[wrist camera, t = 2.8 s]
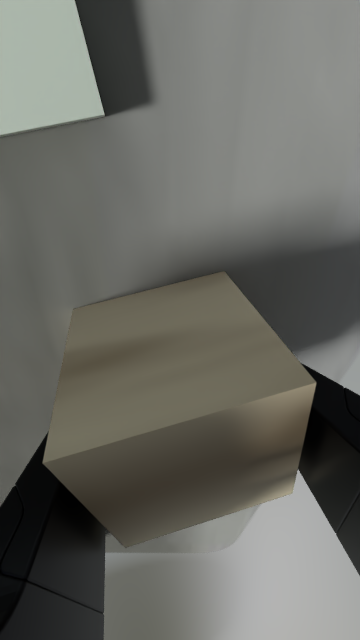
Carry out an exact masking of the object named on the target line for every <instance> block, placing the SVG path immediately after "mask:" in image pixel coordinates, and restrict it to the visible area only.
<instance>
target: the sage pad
mask: <svg viewBox="0 0 360 640" xmlns="http://www.w3.org/2000/svg"><path fill="white" fill-rule="evenodd" d="M101 117H105V114H104V111H103V107H102V103H101V99H100V95H99V91H98V88H97V84H96V80H95V76H94V72H93V69H92V65H91V61H90V57H89V53H88V49H87V46H86V42H85V38H84V34H83V30H82V27H81V23H80V19H79V15H78V11H77V7H76V4H75V0H0V137H5V136H10V135H15V134H20V133H25V132H30V131H35V130H40V129H45V128H50V127H55V126H60V125H66V124H71V123H76V122H81V121H86V120H91V119H96V118H101Z"/></svg>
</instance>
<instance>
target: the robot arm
mask: <svg viewBox="0 0 360 640" xmlns="http://www.w3.org/2000/svg"><path fill="white" fill-rule="evenodd" d="M301 364H302V363H301ZM302 366H303V367H304V368H305V369H306V370H307V372H308V373H309V374H310V375H311V376H312V378H313V379H314V380H315V381H316V387H315V392H314V396H313V401H312V405H311V410H310V415H309V419H308V424H307V428H306V433H305V438H304V442H303V447H302V451H301V456H300V461H299V465H298V469H299V471H300V473H301V474H302V476H303V478H304V480H305V482H306V483H307V485H308V487H309V488H310V490H311V492H312V493H313V495H314V497H315V499H316V501H317V502H318V504H319V506H320V507H321V509H322V511H323V513H324V514H325V516H326V518H327V519H328V521H329V523H330V525H331V526H332V528H333V530H334V531H335V533H337V534H336V535H337V537H338V539H339V540H340V542H341V544H342V545H343V547H344V549H345V551H346V553H347V554H348V556H349V558H350V560H351V561H352V563H353V565H354V566H355V568H356V570H357V572H358V573H359V575H360V395H358V394H356V393H354V392H353V391H351V390H349V389H347V388H344V387H343V386H342V385H340V384H338V383H336V382H334V381H333V380H331V379H329V378H327V377H325V376H324V375H322V374H320V373H318V372H316V371H315V370H313V369H311V368H309V367H307V366H306V365H304V364H302ZM48 433H49V431H48ZM48 433H47V435H46V436H45V438H44V439H43V441H42V442H41V444H40V446H39V447H38V449H37V450H36V452H35V453H34V455H33V457H32V458H31V460H30V461H29V463H28V464H27V466H26V468H25V469H24V471H23V472H22V474H21V475H20V477H19V479H18V480H17V482H16V483H15V485H16V486H14V487H13V488H12V489H11V491H10V493H9V494H8V496H7V497H6V499H5V500H4V502H3V503H2V505H1V506H0V640H103V639H104V638H103V637H104V636H103V635H104V615H103V613H104V578H105V529H106V528H105V527H104V526H103V525H102V524H101V523H100V522H99V521H98V519H97V518H96V517H95V516H94V515H93V514H92V513H91V512H90V511H89V510H88V509H87V508H86V507H85V506H84V505H83V504H82V503H81V502H80V501H79V500H78V499H77V498H76V497H75V496H74V495H73V494H72V493H71V492H70V491H69V490H68V489H67V488H66V487H65V486H64V485H63V484H62V483H61V482H60V481H59V479H58V478H57V477H56V476H55V475H54V474H53V473H52V472H51V471H50V470H49V469H48V468H47V467H46V466H45V465H44V464H43V458H44V453H45V448H46V443H47V438H48Z"/></svg>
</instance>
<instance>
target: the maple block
mask: <svg viewBox="0 0 360 640" xmlns="http://www.w3.org/2000/svg"><path fill="white" fill-rule="evenodd" d="M315 387H316V381H315V380H314V379H313V378H312V376H311V375H310V374H309V373H308V372H307V370H306V369H305V368H304V367H303V366H302V364H301V363H300V362H299V361H298V360H297V358H296V357H295V356H294V355H293V354H292V352H291V351H290V350H289V349H288V347H287V346H286V345H285V344H284V343H283V341H282V340H281V339H280V338H279V337H278V335H277V334H276V333H275V332H274V331H273V329H272V328H271V327H270V326H269V325H268V323H267V322H266V321H265V320H264V318H263V317H262V316H261V315H260V314H259V312H258V311H257V310H256V309H255V308H254V306H253V305H252V304H251V303H250V302H249V300H248V299H247V298H246V297H245V296H244V294H243V293H242V292H241V291H240V289H239V288H238V287H237V286H236V285H235V283H234V282H233V281H232V280H231V279H230V277H229V276H228V275H227V274H226V273H225V271H222V272H218V273H214V274H210V275H206V276H202V277H198V278H195V279H191V280H187V281H183V282H179V283H175V284H171V285H167V286H163V287H159V288H155V289H151V290H147V291H143V292H139V293H135V294H131V295H127V296H123V297H119V298H115V299H111V300H107V301H103V302H99V303H95V304H91V305H87V306H83V307H79V308H75V309H73V311H72V316H71V322H70V327H69V332H68V337H67V342H66V347H65V352H64V357H63V362H62V367H61V372H60V377H59V382H58V387H57V392H56V397H55V403H54V408H53V413H52V418H51V423H50V428H49V433H48V438H47V443H46V448H45V453H44V458H43V464H44V465H45V466H46V467H47V468H48V469H49V470H50V471H51V472H52V473H53V474H54V475H55V476H56V477H57V478H58V479H59V481H60V482H61V483H62V484H63V485H64V486H65V487H66V488H67V489H68V490H69V491H70V492H71V493H72V494H73V495H74V496H75V497H76V498H77V499H78V500H79V501H80V502H81V503H82V504H83V505H84V506H85V507H86V508H87V509H88V510H89V511H90V512H91V513H92V514H93V515H94V516H95V517H96V518H97V519H98V521H99V522H100V523H101V524H102V525H103V526H104V527H105V528H106V529H107V530H108V531H109V532H110V533H111V534H112V535H113V536H114V537H115V538H116V539H117V540H118V541H119V542H120V543H121V544H122V545H123V546H124V547H125V548H127V547H130V546H133V545H136V544H139V543H142V542H145V541H148V540H151V539H155V538H158V537H161V536H164V535H167V534H170V533H173V532H176V531H179V530H182V529H185V528H188V527H191V526H194V525H197V524H200V523H203V522H207V521H210V520H213V519H216V518H219V517H222V516H225V515H228V514H231V513H234V512H237V511H240V510H243V509H246V508H249V507H252V506H256V505H259V504H262V503H265V502H267V501H271V500H274V499H277V498H280V497H283V496H286V495H289V494H292V493H293V488H294V483H295V479H296V474H297V470H298V465H299V461H300V456H301V451H302V447H303V442H304V438H305V433H306V428H307V424H308V419H309V415H310V410H311V405H312V401H313V396H314V392H315Z"/></svg>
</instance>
